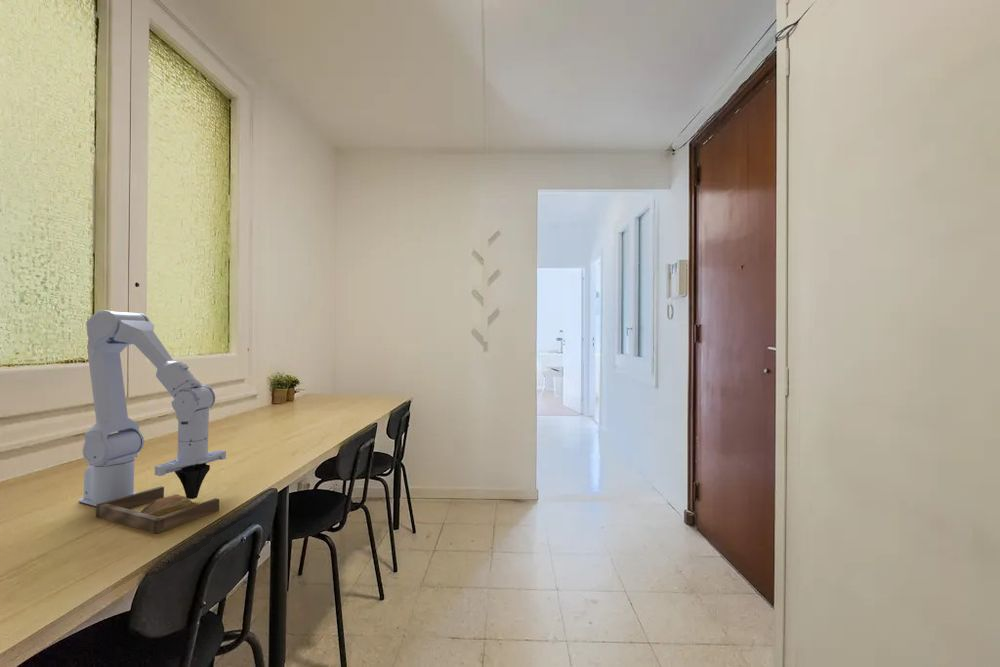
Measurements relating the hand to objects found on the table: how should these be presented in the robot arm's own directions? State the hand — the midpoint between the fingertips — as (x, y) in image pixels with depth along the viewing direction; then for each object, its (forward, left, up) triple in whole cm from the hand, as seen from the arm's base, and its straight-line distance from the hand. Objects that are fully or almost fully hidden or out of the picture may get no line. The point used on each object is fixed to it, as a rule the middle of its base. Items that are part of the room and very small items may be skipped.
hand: (191, 497), depth 97 cm
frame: (0, -6, -1) cm, 6 cm away
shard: (-1, -5, -2) cm, 5 cm away
